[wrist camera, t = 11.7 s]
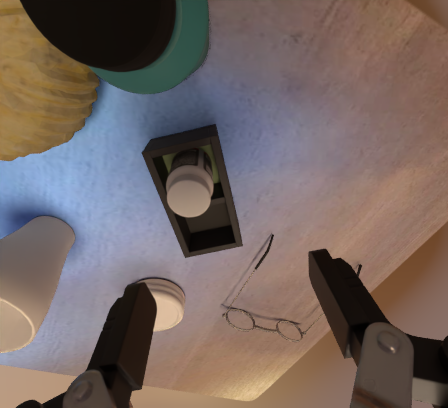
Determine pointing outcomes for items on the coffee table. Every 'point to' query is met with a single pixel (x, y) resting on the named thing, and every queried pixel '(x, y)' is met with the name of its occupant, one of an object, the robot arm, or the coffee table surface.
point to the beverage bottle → (128, 38)
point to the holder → (220, 200)
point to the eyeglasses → (279, 321)
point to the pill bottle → (190, 183)
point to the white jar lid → (166, 303)
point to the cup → (30, 277)
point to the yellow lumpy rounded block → (38, 88)
